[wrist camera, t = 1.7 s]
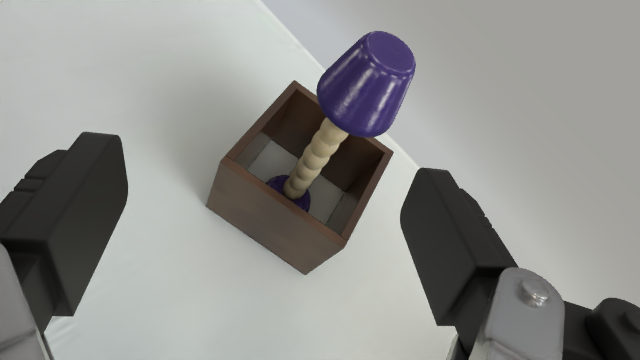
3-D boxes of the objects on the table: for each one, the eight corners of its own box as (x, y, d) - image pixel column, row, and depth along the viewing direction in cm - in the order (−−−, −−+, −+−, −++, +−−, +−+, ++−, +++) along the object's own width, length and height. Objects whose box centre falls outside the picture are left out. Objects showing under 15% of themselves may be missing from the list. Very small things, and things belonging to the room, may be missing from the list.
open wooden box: (205, 206, 28) (219, 161, 23) (269, 131, 34) (294, 79, 28) (305, 275, 29) (344, 248, 23) (353, 190, 34) (394, 151, 28)
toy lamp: (253, 173, 31) (335, 9, 18) (305, 171, 33) (415, 22, 20) (264, 228, 29) (364, 92, 16) (318, 222, 31) (448, 97, 18)
